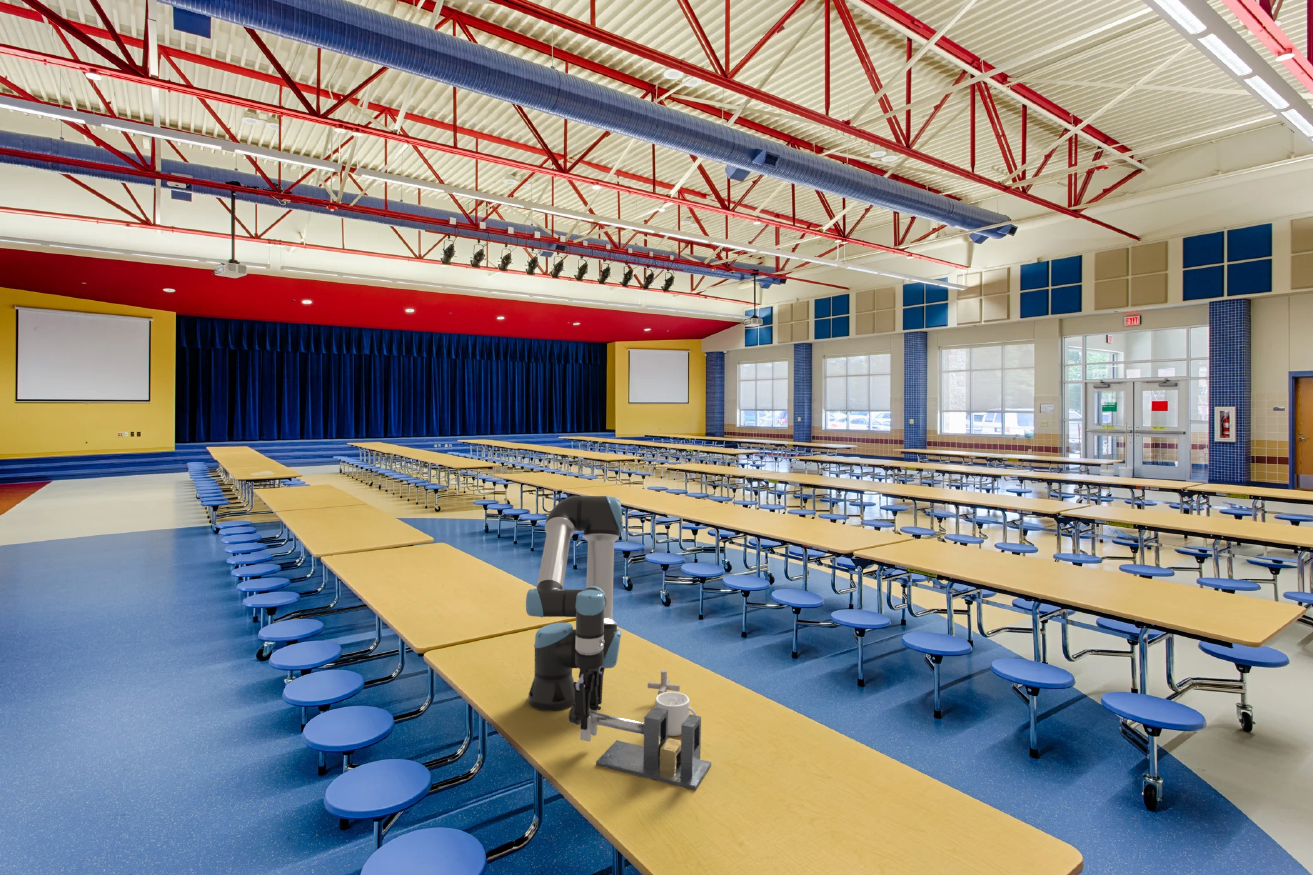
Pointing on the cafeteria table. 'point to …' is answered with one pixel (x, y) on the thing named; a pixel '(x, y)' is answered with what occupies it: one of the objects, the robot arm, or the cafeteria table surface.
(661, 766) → the spacer
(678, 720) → the mug
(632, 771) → the bearing block
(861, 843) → the cafeteria table surface
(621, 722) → the shaft
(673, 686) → the pipe connector
